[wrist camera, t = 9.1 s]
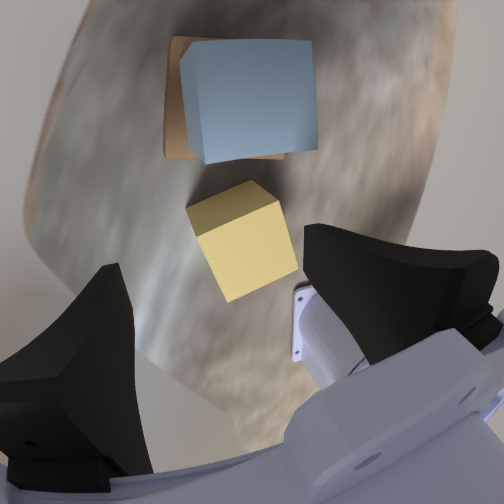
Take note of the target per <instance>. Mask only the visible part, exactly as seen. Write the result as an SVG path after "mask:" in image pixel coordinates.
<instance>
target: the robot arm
mask: <svg viewBox="0 0 504 504" xmlns="http://www.w3.org/2000/svg"><path fill="white" fill-rule="evenodd" d="M303 271H304V273H305V274H306V276H307V278H308V279H309V281H310V283H311V284H312V285H309V286H305V287H301V288H298V289H296V290H295V292H294V304H293V331H292V353H291V359H292V361H293V362H297V361H300V360H302V361H303V363H304V364H305V366H306V367H307V369H308V371H309V372H310V374H311V375H312V377H313V379H314V380H315V382H316V383H317V385H318V386H319V388H320V391H318V392H316V393H315V394H314V395H313V396H312V397H311V398H309V399H308V400H307V401H306V402H305V403H304V404H303V405H301V406H300V407H299V408H298V409H297V410H296V411H295V412H294V414H293V416H292V418H291V420H290V422H289V424H288V426H287V428H286V430H285V432H284V442H283V443H280V444H277V445H274V446H271V447H268V448H265V449H262V450H259V451H255V452H252V453H248V454H245V455H241V456H238V457H234V458H230V459H226V460H222V461H218V462H214V463H209V464H205V465H200V466H195V467H190V468H185V469H180V470H174V471H168V472H162V473H153V469H152V466H151V462H150V459H149V455H148V451H147V447H146V443H145V439H144V435H143V430H142V425H141V420H140V415H139V409H138V403H137V397H136V390H135V368H134V367H135V360H134V359H135V327H134V317H133V308H132V305H131V302H130V299H129V296H128V293H127V290H126V286H125V283H124V280H123V277H122V273H121V270H120V267H119V263H114V264H109V265H104V266H102V267H101V268H100V269H99V270H98V272H97V273H96V274H95V275H94V277H93V278H92V279H91V280H90V282H89V283H88V284H87V285H86V287H85V288H84V289H83V290H82V292H81V293H80V294H79V295H78V296H77V297H76V299H75V300H74V301H73V302H72V303H71V304H70V306H69V307H68V308H67V309H66V310H65V311H64V312H63V313H62V314H61V316H60V317H59V318H58V319H57V320H56V321H55V322H53V323H52V324H51V325H50V326H49V327H48V328H47V329H46V330H45V331H44V332H42V333H41V334H40V335H39V336H38V337H36V338H35V339H34V340H33V341H31V342H30V343H29V344H28V345H26V346H25V347H24V348H22V349H21V350H20V351H18V352H17V353H15V354H13V355H12V356H11V357H9V358H7V359H6V360H4V361H3V362H1V363H0V451H2V452H3V453H4V454H5V455H6V456H7V457H9V459H8V467H7V466H5V465H2V464H0V504H504V444H503V442H502V441H501V440H500V439H499V438H498V437H497V435H496V434H495V433H494V432H493V431H492V430H491V429H490V427H489V426H488V425H487V424H486V422H487V421H488V420H489V419H490V418H491V417H492V416H493V415H494V413H495V412H496V411H497V410H498V409H499V408H500V407H501V406H502V405H503V404H504V309H503V310H502V311H501V312H500V313H499V314H498V316H497V317H495V316H493V315H492V314H491V312H492V311H493V307H492V306H491V305H490V304H489V303H488V301H489V299H490V296H491V293H492V291H493V288H494V285H495V283H496V280H497V277H498V273H499V260H498V258H497V257H496V256H495V255H494V254H492V253H490V252H489V251H486V250H466V251H465V250H464V251H452V250H433V249H423V248H416V247H409V246H405V245H399V244H394V243H390V242H386V241H382V240H378V239H374V238H371V237H367V236H364V235H361V234H357V233H354V232H351V231H347V230H344V229H341V228H337V227H334V226H330V225H326V224H320V223H317V224H311V225H306V226H304V256H303ZM299 297H301V298H300V299H298V298H299Z"/></svg>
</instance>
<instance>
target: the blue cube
mask: <svg viewBox="0 0 504 504" xmlns="http://www.w3.org/2000/svg"><path fill="white" fill-rule="evenodd" d="M179 65H180V75H181V85H182V94H183V103H184V111H185V120H186V128H187V136H188V144H189V149H190V150H191V151H192V152H193V153H194V154H195V155H196V156H197V157H198V158H199V159H200V160H201V161H203V162H204V163H205V164H212V163H218V162H224V161H230V160H237V159H243V158H250V157H257V156H264V155H272V154H280V153H289V152H298V151H307V150H317V149H318V132H317V109H316V91H315V76H314V62H313V50H312V41H307V40H290V39H229V40H212V41H200V42H192V44H191V45H190V46H189V48H188V49H187V51H186V52H185V54H184V55H183V57H182V58H181V59H180V61H179Z"/></svg>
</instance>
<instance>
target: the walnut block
mask: <svg viewBox="0 0 504 504" xmlns="http://www.w3.org/2000/svg"><path fill="white" fill-rule="evenodd" d="M212 40H229V39H220V38H206V37H184V36H172V39H171V41H170V44H169V48H168V59H167V71H166V86H165V103H164V128H163V153H164V156H165V159H194V158H198V157H197V156H196V155H195V154H194V153H193V152H192V151H191V150H190V149H189V144H188V136H187V128H186V120H185V111H184V103H183V94H182V85H181V75H180V65H179V61H180V59H181V58H182V57H183V55H184V54H185V52H186V51H187V49H188V48H189V46H190V45H191V44H192V42H200V41H212ZM284 155H285V153H280V154H272V155H264V156H257V157H250V158H249V159H281V160H284Z"/></svg>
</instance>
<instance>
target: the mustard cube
mask: <svg viewBox="0 0 504 504" xmlns="http://www.w3.org/2000/svg"><path fill="white" fill-rule="evenodd" d="M185 209H186V211H187V214H188V217H189V219H190V222H191V224H192V227H193V230H194V232H195V235H196V237H197V239H198V242H199V244H200V246H201V248H202V250H203V252H204V254H205V257H206V259H207V261H208V263H209V265H210V267H211V269H212V271H213V273H214V275H215V278H216V280H217V282H218V284H219V286H220V288H221V290H222V292H223V294H224V296H225V298H226V300H227V302H230V301H232V300H234V299H236V298H239V297H241V296H243V295H245V294H247V293H249V292H251V291H253V290H256V289H258V288H260V287H262V286H264V285H266V284H268V283H270V282H272V281H274V280H277V279H279V278H281V277H283V276H285V275H287V274H289V273H291V272H293V271H295V270H297V269H298V266H297V262H296V259H295V255H294V251H293V248H292V244H291V241H290V237H289V234H288V230H287V227H286V223H285V220H284V216H283V213H282V209H281V206H280V203H279V200H278V199H276V198H275V197H274V196H272V195H271V194H270V193H268V192H267V191H266V190H264V189H263V188H262V187H260V186H259V185H258V184H256V183H255V182H254V181H252V180H249V181H247V182H245V183H242V184H240V185H237V186H235V187H233V188H230V189H228V190H226V191H223V192H221V193H219V194H216V195H214V196H212V197H210V198H207V199H205V200H203V201H200V202H198V203H196V204H194V205H192V206H189V207H187V208H185Z"/></svg>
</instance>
